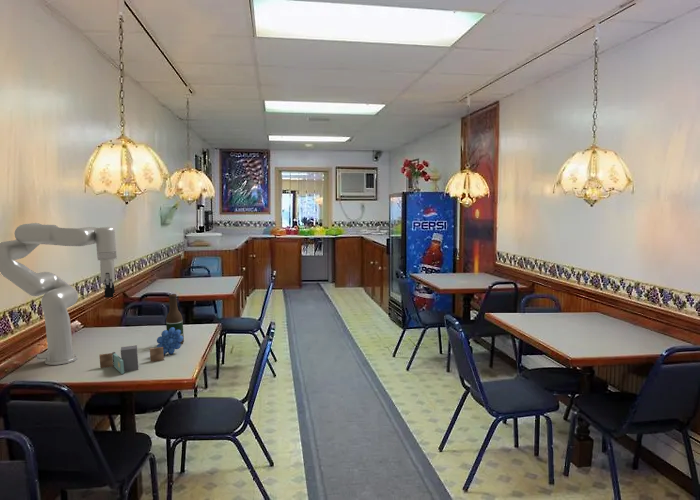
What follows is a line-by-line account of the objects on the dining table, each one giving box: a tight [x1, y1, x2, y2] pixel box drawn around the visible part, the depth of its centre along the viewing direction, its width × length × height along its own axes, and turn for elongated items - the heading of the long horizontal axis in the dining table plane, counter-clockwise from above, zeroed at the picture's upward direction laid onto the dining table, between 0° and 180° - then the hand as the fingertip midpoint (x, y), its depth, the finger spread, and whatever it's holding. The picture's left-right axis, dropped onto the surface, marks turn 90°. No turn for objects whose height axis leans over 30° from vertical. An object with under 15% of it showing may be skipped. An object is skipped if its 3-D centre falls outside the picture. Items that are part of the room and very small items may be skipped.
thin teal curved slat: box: [112, 352, 125, 375], centre depth 221 cm, size 13×1×5 cm, turn 36°
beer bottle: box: [165, 293, 185, 345], centre depth 257 cm, size 8×8×24 cm
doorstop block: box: [120, 344, 139, 373], centre depth 222 cm, size 6×5×9 cm
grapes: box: [155, 327, 183, 355], centre depth 242 cm, size 12×7×12 cm, turn 116°
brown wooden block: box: [99, 347, 165, 369], centre depth 229 cm, size 25×1×6 cm, turn 110°
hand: (110, 295), depth 234 cm, fingers open, 9 cm apart
